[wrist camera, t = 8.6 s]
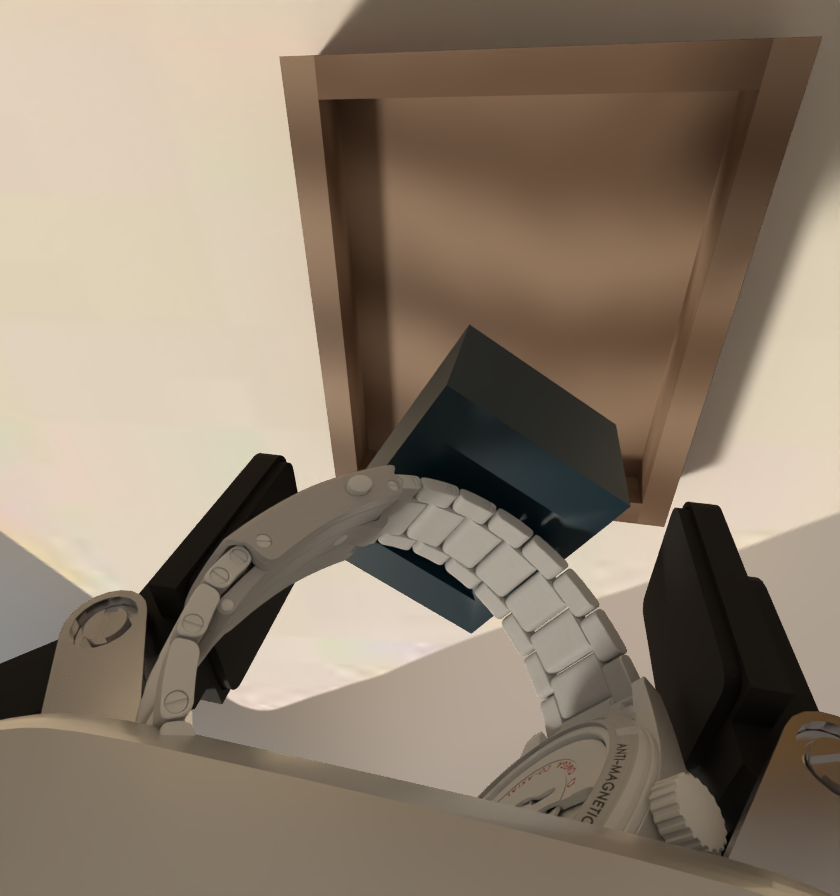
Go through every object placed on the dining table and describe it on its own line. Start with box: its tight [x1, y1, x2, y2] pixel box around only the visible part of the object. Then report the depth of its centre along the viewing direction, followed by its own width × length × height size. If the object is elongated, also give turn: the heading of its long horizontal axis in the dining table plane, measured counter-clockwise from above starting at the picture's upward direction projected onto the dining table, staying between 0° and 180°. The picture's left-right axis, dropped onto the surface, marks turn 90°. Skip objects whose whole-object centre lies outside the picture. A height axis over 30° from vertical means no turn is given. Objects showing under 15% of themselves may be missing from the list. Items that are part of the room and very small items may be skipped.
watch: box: [135, 324, 727, 856], centre depth 10 cm, size 6×8×11 cm
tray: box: [280, 36, 822, 527], centre depth 22 cm, size 18×16×3 cm
